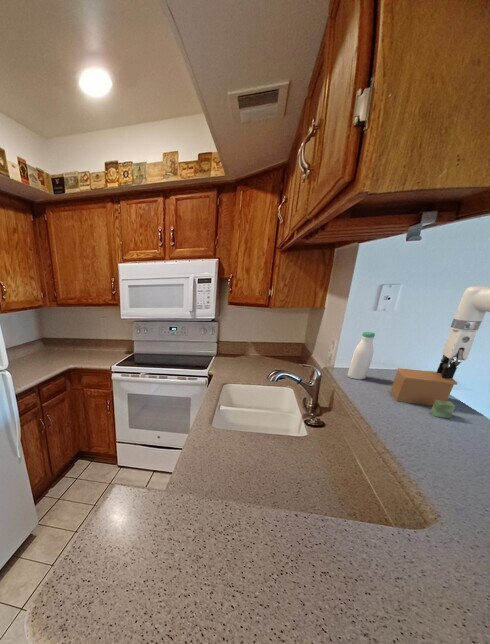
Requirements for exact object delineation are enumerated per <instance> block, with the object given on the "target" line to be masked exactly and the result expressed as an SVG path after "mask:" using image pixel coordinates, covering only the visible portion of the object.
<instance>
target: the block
mask: <svg viewBox="0 0 490 644" xmlns="http://www.w3.org/2000/svg"><path fill="white" fill-rule="evenodd" d="M455 408H456V405H455V404H454V403H453V402H452V401H451V400H447V401H442V400H435V402H434V405H432V407H431V409H430V412H431V413H432V415H433V416H434V417H438V418H447V419H451V418H452V415H453V413H454V410H455Z"/></svg>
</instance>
